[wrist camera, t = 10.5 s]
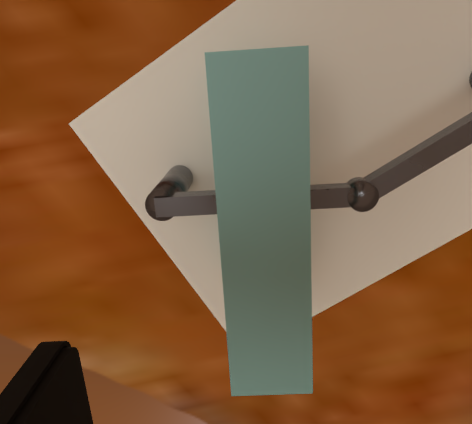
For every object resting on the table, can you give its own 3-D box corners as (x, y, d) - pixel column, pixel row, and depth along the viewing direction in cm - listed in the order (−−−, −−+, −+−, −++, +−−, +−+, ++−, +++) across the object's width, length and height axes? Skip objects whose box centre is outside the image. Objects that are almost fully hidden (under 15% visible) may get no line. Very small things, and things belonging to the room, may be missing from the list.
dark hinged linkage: (494, 59, 31) (581, 52, 23) (505, 127, 32) (590, 143, 24) (163, 169, 34) (137, 197, 26) (186, 227, 35) (168, 271, 27)
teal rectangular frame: (294, 59, 31) (334, 43, 17) (298, 265, 36) (333, 392, 21) (210, 65, 31) (178, 54, 17) (226, 269, 36) (211, 396, 22)
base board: (425, -134, 29) (434, -146, 27) (563, 166, 34) (576, 170, 33) (76, 121, 34) (68, 123, 33) (243, 344, 40) (243, 354, 38)
